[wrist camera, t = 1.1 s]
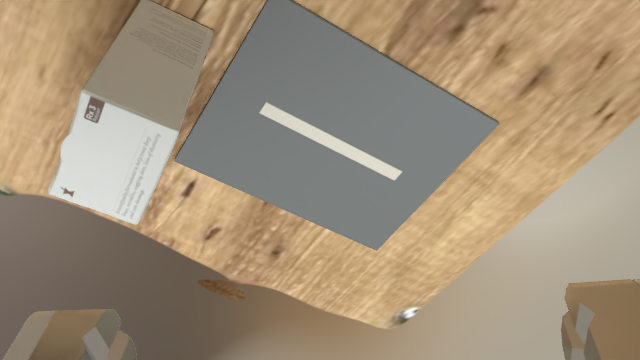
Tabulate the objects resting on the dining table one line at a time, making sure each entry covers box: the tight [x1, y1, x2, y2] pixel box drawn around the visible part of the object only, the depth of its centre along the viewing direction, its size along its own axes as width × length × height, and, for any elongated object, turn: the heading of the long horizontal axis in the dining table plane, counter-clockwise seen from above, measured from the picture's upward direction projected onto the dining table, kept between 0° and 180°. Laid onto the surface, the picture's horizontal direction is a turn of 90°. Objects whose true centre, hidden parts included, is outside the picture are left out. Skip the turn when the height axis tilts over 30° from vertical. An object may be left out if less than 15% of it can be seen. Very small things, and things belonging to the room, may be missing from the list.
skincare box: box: [48, 0, 214, 224], centre depth 40 cm, size 8×6×15 cm
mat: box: [174, 0, 499, 251], centre depth 51 cm, size 22×18×1 cm
